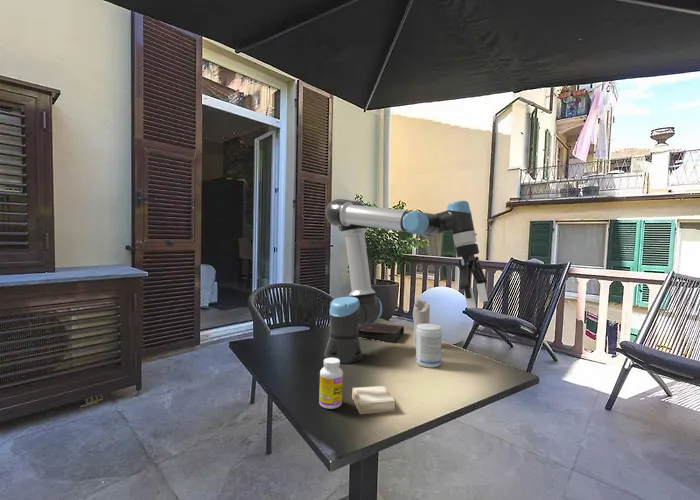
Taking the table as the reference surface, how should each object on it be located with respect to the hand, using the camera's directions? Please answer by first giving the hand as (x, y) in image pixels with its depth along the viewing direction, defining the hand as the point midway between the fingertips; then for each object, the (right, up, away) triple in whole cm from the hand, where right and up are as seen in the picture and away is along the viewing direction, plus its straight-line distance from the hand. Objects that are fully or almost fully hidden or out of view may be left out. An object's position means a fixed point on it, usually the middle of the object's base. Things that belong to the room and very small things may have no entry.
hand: (478, 304), depth 121 cm
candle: (-13, -24, +34) cm, 44 cm away
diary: (-32, -24, +51) cm, 65 cm away
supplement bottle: (-50, -26, -20) cm, 60 cm away
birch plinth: (-38, -26, -20) cm, 50 cm away
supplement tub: (-14, -25, +14) cm, 32 cm away
